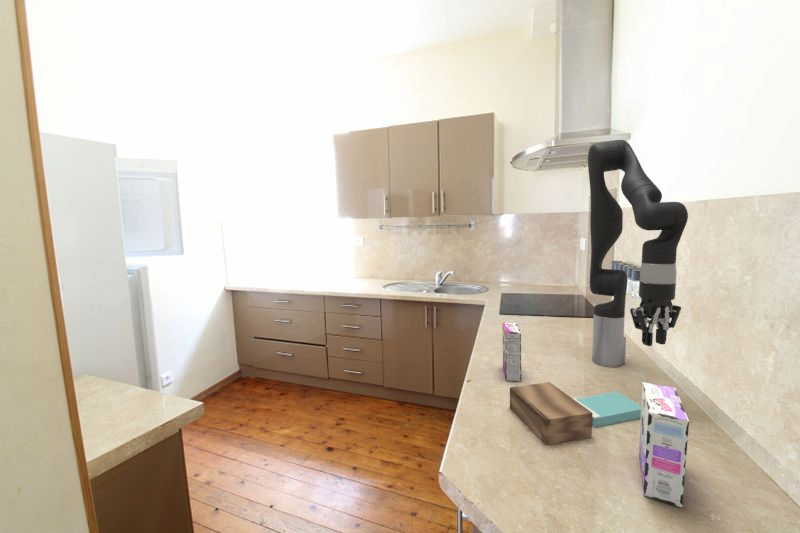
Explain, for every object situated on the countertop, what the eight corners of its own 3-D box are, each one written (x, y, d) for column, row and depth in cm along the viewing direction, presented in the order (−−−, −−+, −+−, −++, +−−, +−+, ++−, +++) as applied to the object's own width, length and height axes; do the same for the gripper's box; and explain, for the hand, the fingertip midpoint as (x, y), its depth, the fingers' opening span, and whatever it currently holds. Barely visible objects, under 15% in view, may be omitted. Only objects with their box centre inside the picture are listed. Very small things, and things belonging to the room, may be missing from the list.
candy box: (684, 509, 58) (690, 421, 56) (642, 496, 62) (647, 411, 60) (672, 461, 70) (677, 386, 68) (637, 452, 73) (641, 380, 71)
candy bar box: (501, 367, 119) (501, 321, 117) (516, 367, 118) (517, 322, 116) (505, 381, 108) (505, 331, 106) (521, 382, 107) (521, 332, 105)
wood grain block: (549, 402, 95) (549, 382, 94) (591, 436, 79) (592, 412, 78) (509, 408, 92) (509, 387, 92) (545, 444, 77) (545, 420, 76)
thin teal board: (616, 401, 95) (616, 390, 95) (646, 418, 86) (646, 407, 86) (567, 410, 91) (567, 399, 91) (593, 429, 83) (594, 417, 82)
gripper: (666, 276, 92) (662, 337, 94) (621, 279, 90) (619, 342, 92) (694, 280, 85) (690, 346, 87) (647, 284, 82) (643, 352, 84)
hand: (653, 344), depth 89 cm, fingers open, 3 cm apart
